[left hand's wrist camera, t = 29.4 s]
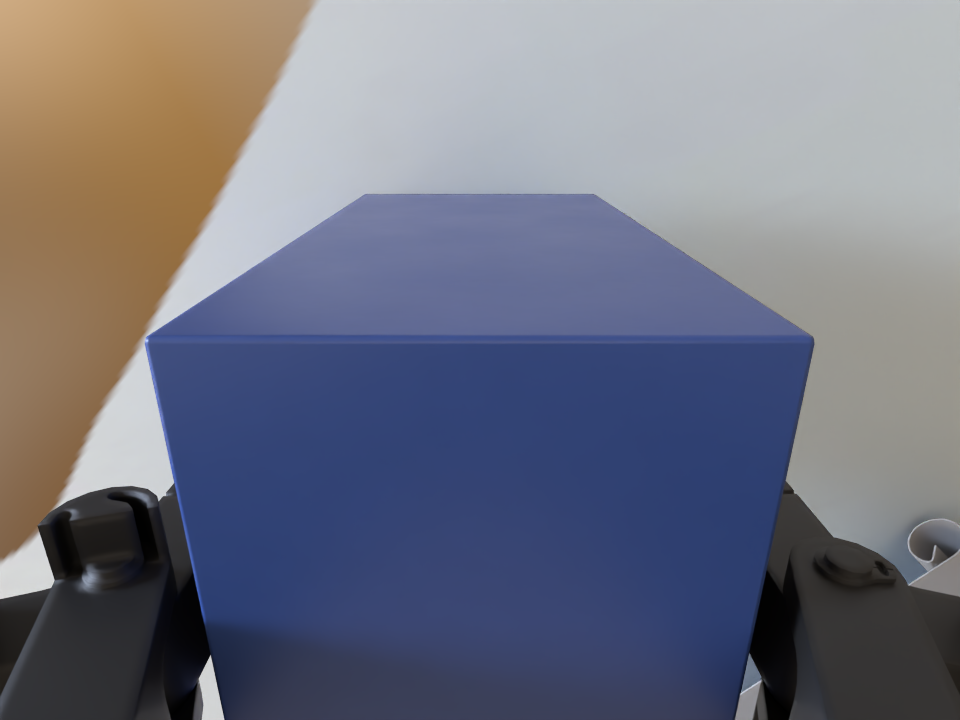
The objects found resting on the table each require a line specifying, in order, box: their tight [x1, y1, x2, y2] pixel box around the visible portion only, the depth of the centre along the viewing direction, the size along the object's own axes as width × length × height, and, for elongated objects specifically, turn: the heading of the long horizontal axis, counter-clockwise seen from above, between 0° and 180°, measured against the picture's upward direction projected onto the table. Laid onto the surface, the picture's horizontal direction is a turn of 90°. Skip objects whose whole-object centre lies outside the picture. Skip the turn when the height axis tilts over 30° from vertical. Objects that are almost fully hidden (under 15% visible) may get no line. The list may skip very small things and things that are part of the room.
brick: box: [145, 194, 814, 720], centre depth 12 cm, size 6×8×11 cm
